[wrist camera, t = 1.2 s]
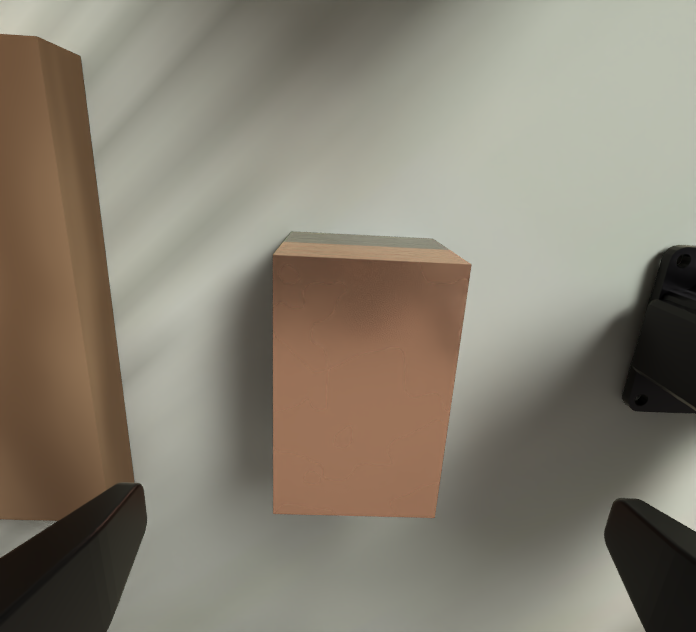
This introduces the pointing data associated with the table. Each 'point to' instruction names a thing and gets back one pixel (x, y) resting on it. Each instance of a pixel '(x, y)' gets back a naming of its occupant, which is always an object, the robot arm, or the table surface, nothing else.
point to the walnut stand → (53, 295)
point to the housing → (363, 372)
